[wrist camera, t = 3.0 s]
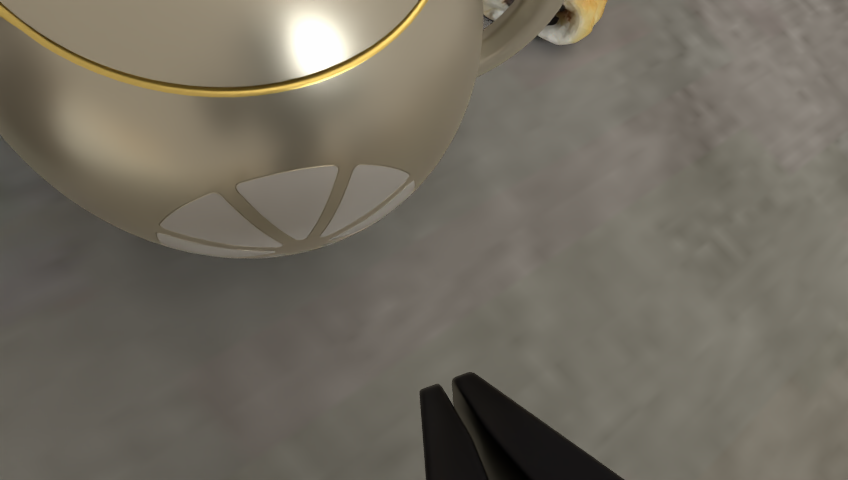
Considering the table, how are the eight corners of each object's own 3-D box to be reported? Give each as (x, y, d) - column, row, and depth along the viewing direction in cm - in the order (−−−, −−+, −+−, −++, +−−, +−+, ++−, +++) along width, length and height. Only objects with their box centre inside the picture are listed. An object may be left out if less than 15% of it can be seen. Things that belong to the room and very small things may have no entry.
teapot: (115, 333, 19) (-865, 231, 3) (62, 22, 21) (-665, -912, 6) (532, 230, 23) (957, -22, 8) (452, -18, 26) (655, -601, 10)
